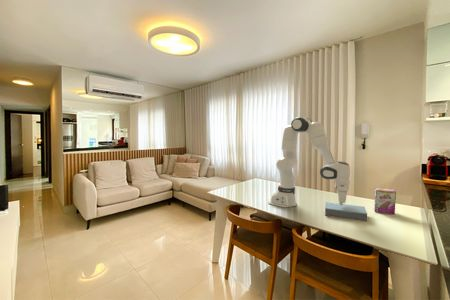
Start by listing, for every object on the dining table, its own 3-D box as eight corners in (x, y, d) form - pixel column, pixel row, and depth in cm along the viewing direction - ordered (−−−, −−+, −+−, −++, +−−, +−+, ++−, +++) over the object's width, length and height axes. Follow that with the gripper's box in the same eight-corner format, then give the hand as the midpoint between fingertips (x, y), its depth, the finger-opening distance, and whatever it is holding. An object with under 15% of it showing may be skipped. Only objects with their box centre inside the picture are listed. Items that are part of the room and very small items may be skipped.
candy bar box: (374, 212, 143) (375, 189, 141) (374, 209, 147) (374, 187, 146) (395, 215, 137) (396, 191, 136) (393, 212, 141) (394, 189, 140)
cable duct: (325, 215, 140) (325, 209, 139) (325, 209, 150) (325, 203, 150) (367, 221, 129) (367, 215, 128) (364, 214, 139) (364, 208, 139)
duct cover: (325, 209, 139) (325, 207, 139) (325, 203, 151) (325, 202, 151) (367, 214, 128) (367, 213, 128) (364, 207, 140) (364, 206, 140)
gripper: (336, 181, 148) (335, 199, 150) (337, 188, 130) (336, 209, 132) (346, 182, 146) (345, 200, 147) (348, 189, 127) (347, 210, 129)
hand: (340, 204), depth 139 cm, fingers closed
